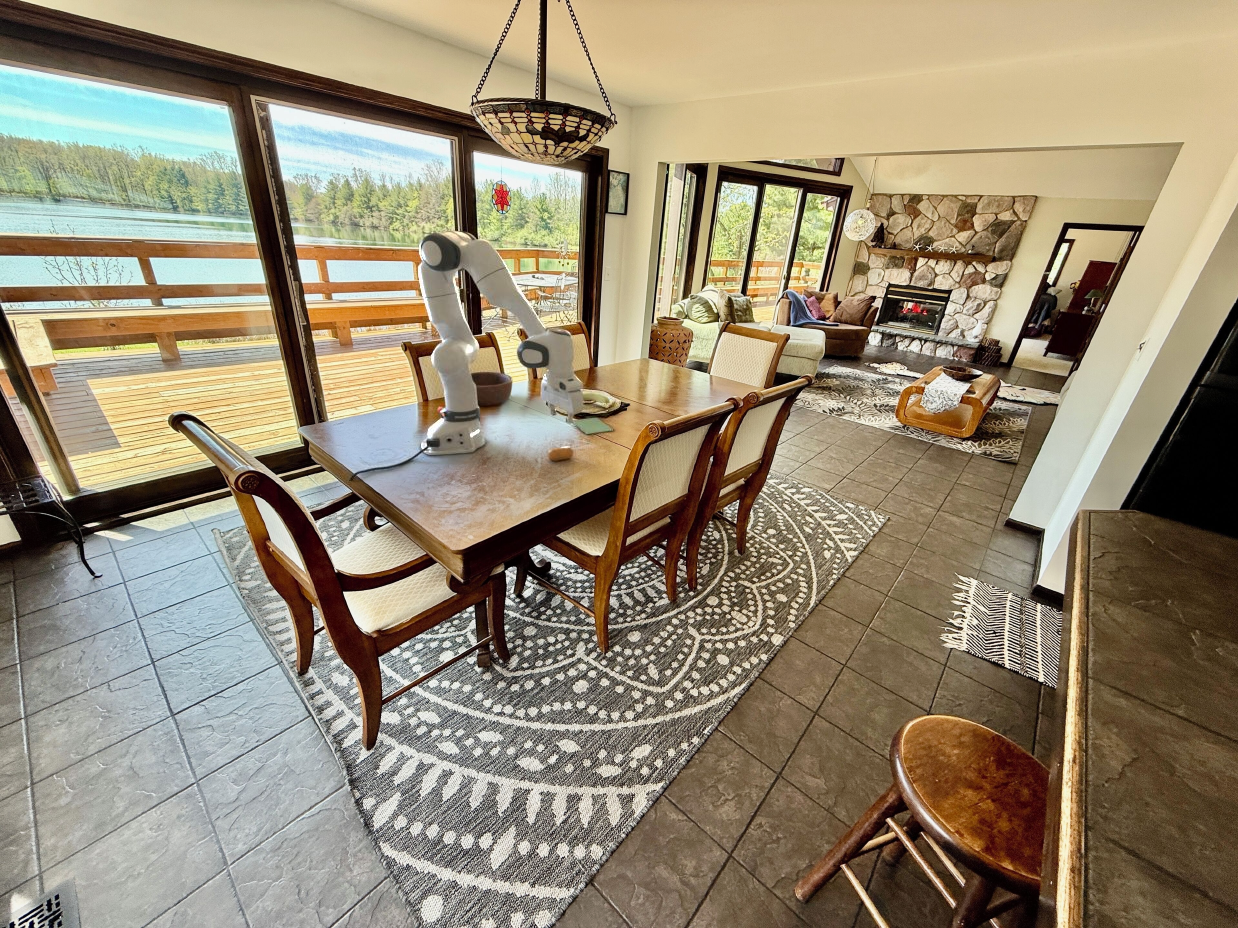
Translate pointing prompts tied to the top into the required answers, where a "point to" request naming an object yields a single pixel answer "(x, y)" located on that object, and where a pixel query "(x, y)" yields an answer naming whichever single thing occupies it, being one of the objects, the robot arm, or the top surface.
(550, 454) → the roll
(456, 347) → the robot arm
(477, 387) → the wooden bowl
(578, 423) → the cloth
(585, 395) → the banana
